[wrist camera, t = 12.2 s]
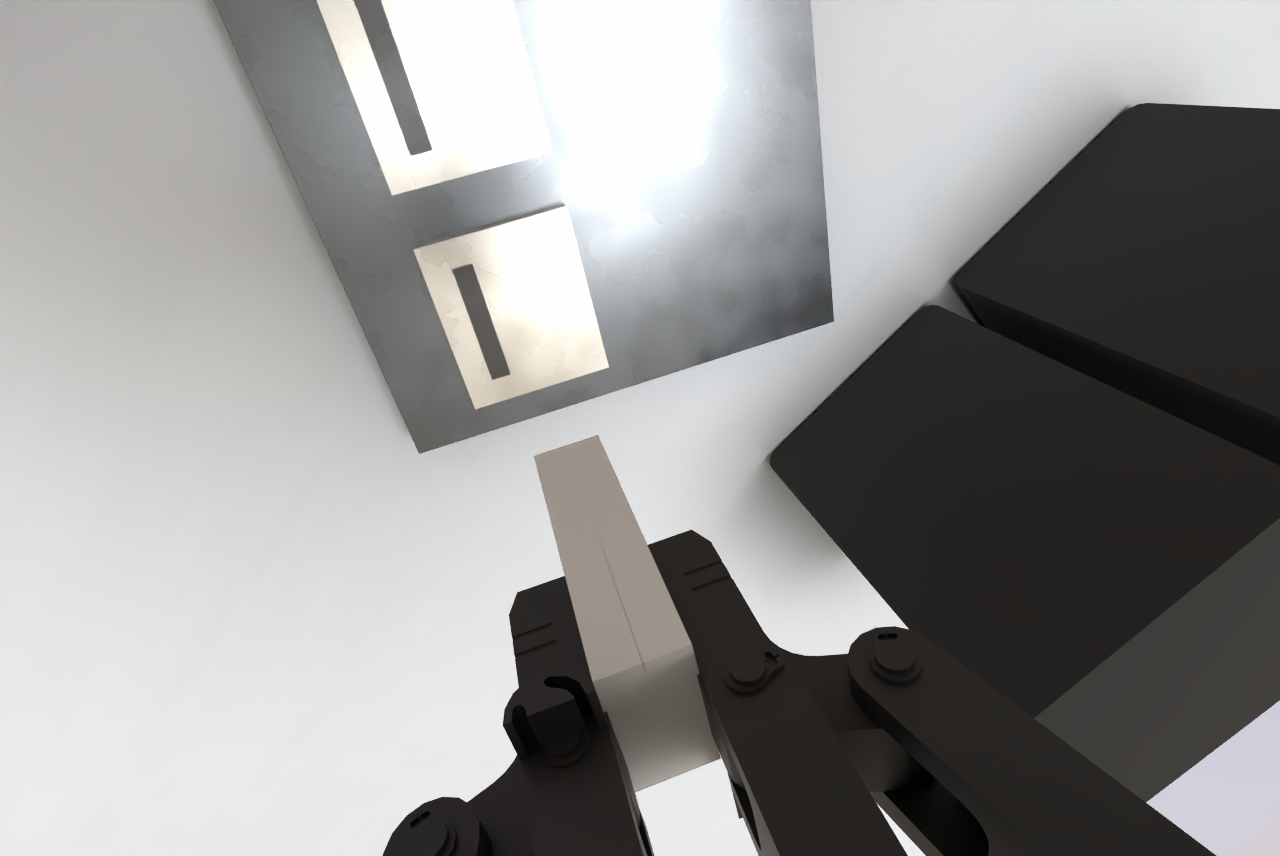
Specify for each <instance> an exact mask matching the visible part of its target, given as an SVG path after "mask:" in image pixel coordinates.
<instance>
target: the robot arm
mask: <svg viewBox="0 0 1280 856" xmlns="http://www.w3.org/2000/svg"><path fill="white" fill-rule="evenodd" d="M534 458H535V462H536V466H537V469H538V473H539V477H540V481H541V485H542V489H543V493H544V496H545V500H546V504H547V508H548V512H549V516H550V520H551V524H552V527H553V531H554V535H555V539H556V543H557V547H558V551H559V554H560V558H561V562H562V566H563V570H564V574H565V576H563V577H560V578H558V579H555V580H552V581H549V582H546V583H543V584H540V585H538V586H535V587H532V588H529V589H526V590H523V591H520V592H518V593H517V595H516V597H515V600H514V603H513V606H512V609H511V611H510V614H509V618H510V625H511V633H512V638H513V647H514V654H515V658H516V659H515V662H516V669H517V676H518V684H519V688H518V689H517V690H516V691H515V692H514V693H513V695H512V697H511V699H510V700H509V702H508V704H507V706H506V708H505V711H504V720H503V727H504V729H505V731H506V733H507V735H508V737H509V739H510V741H511V743H512V745H513V747H514V749H515V751H516V753H517V756H516V758H515V760H514V762H513V763H512V764H511V766H510V767H509V768H508V769H507V771H506V772H505V773H504V774H503V775H502V776H501V777H500V778H498V779H497V780H496V781H495V782H494V783H493V784H491V785H490V786H489V787H487V788H486V789H485V790H483V791H482V792H481V793H479V794H478V795H477V796H475V797H474V798H473V799H471V800H470V801H469V802H467V803H466V802H465V801H463V800H461V799H460V798H453V797H441V798H438V799H435V800H432V801H429V802H426V803H424V804H422V805H421V806H420V807H418V808H417V809H415V810H414V811H413V812H411V813H410V814H408V815H407V816H406V817H405V818H404V820H403V821H402V822H401V823H400V825H399V826H398V827H397V828H396V829H395V831H394V832H393V833H392V835H391V838H390V840H389V842H388V844H387V846H386V849H385V851H384V853H383V856H654V853H653V850H652V846H651V843H650V839H649V836H648V832H647V829H646V825H645V823H644V820H643V817H642V815H641V812H640V809H639V806H638V803H637V799H636V795H635V792H637V791H640V790H642V789H645V788H647V787H650V786H652V785H655V784H657V783H660V782H662V781H665V780H667V779H670V778H672V777H675V776H678V775H680V774H683V773H685V772H688V771H690V770H693V769H695V768H698V767H700V766H703V765H705V764H708V763H710V762H713V761H715V760H718V759H720V758H721V757H722V760H723V762H724V764H725V767H726V769H727V771H728V775H729V779H730V783H731V788H732V792H733V796H734V800H735V804H736V808H737V812H738V816H739V819H740V818H742V817H743V818H744V821H745V823H746V826H747V828H748V831H749V833H750V835H751V838H752V840H753V843H754V845H755V848H756V850H757V852H758V855H759V856H908V855H907V854H906V852H905V850H904V849H903V847H902V845H901V844H900V842H899V840H898V839H897V837H896V835H895V834H894V832H893V830H892V829H891V827H890V825H889V824H888V822H887V820H886V819H885V817H884V815H883V814H882V812H881V810H880V809H879V807H878V805H879V806H880V807H881V808H882V809H883V810H884V811H885V812H886V813H887V814H888V815H889V817H890V818H891V819H892V820H893V821H894V822H895V823H896V824H897V825H898V826H899V827H900V828H901V829H902V830H903V832H904V833H905V834H906V835H907V836H908V837H909V838H910V839H911V840H912V841H913V842H914V843H915V844H916V845H917V846H918V848H919V849H920V850H921V851H922V852H923V853H924V854H925V855H926V856H1216V855H1215V854H1213V853H1212V852H1211V851H1209V850H1208V849H1207V848H1205V847H1204V846H1203V845H1201V844H1200V843H1199V842H1197V841H1196V840H1195V839H1193V838H1192V837H1191V836H1189V835H1188V834H1187V833H1185V832H1184V831H1183V830H1181V829H1180V828H1179V827H1177V826H1176V825H1175V824H1173V823H1172V822H1171V821H1169V820H1168V819H1167V818H1165V817H1164V816H1163V815H1162V814H1160V813H1159V812H1158V811H1156V810H1155V809H1154V808H1152V807H1151V806H1149V805H1148V804H1147V803H1146V802H1144V801H1143V800H1142V799H1140V798H1139V797H1138V796H1136V795H1135V794H1134V793H1132V792H1131V791H1130V790H1128V789H1127V788H1126V787H1124V786H1123V785H1122V784H1120V783H1119V782H1118V781H1116V780H1115V779H1114V778H1112V777H1111V776H1110V775H1108V774H1107V773H1106V772H1104V771H1103V770H1102V769H1100V768H1099V767H1098V766H1096V765H1095V764H1094V763H1092V762H1091V761H1090V760H1088V759H1087V758H1086V757H1084V756H1083V755H1082V754H1080V753H1079V752H1078V751H1077V750H1075V749H1074V748H1073V747H1071V746H1070V745H1069V744H1067V743H1066V742H1065V741H1063V740H1062V739H1061V738H1059V737H1058V736H1057V735H1055V734H1054V733H1053V732H1051V731H1050V730H1049V729H1047V728H1046V727H1045V726H1043V725H1042V724H1041V723H1039V722H1038V721H1037V720H1035V719H1034V718H1033V717H1031V716H1030V715H1029V714H1027V713H1026V712H1025V711H1023V710H1022V709H1021V708H1019V707H1018V706H1017V705H1015V704H1014V703H1013V702H1011V701H1010V700H1009V699H1007V698H1006V697H1005V696H1003V695H1002V694H1001V693H999V692H998V691H997V690H995V689H994V688H993V687H991V686H990V685H989V684H988V683H986V682H985V681H984V680H982V679H981V678H980V677H978V676H977V675H976V674H974V673H973V672H972V671H970V670H969V669H968V668H966V667H965V666H964V665H962V664H961V663H960V662H958V661H957V660H956V659H954V658H953V657H952V656H950V655H949V654H948V653H946V652H945V651H944V650H942V649H941V648H940V647H938V646H937V645H936V644H934V643H933V642H932V641H930V640H929V639H928V638H926V637H924V636H922V635H920V634H918V633H916V632H914V631H913V630H909V629H904V628H899V627H894V626H893V627H881V628H875V629H872V630H870V631H868V632H865V633H863V634H861V635H860V636H859V637H858V638H857V639H856V640H855V641H854V642H853V643H852V644H851V646H850V650H849V653H848V654H840V655H827V656H804V655H799V654H794V653H791V652H789V651H786V650H784V649H782V648H780V647H778V646H777V645H776V644H774V643H773V642H772V641H770V639H769V638H768V637H767V636H766V634H765V633H764V632H763V630H762V628H761V627H760V625H759V623H758V622H757V620H756V618H755V616H754V615H753V613H752V611H751V610H750V608H749V606H748V604H747V603H746V601H745V599H744V598H743V596H742V594H741V593H740V591H739V589H738V587H737V586H736V584H735V582H734V581H733V579H731V576H730V574H729V572H728V570H727V569H726V567H725V565H724V564H723V563H722V560H721V558H720V557H719V555H718V553H717V552H716V550H715V548H714V547H713V545H712V543H711V542H710V541H709V540H707V539H705V538H704V537H702V536H701V535H699V534H698V533H696V532H694V531H693V530H689V531H686V532H684V533H681V534H678V535H675V536H672V537H669V538H666V539H664V540H661V541H658V542H655V543H652V544H649V545H647V543H646V541H645V539H644V537H643V534H642V532H641V530H640V528H639V525H638V523H637V521H636V519H635V517H634V514H633V512H632V510H631V508H630V505H629V503H628V501H627V499H626V497H625V494H624V492H623V490H622V488H621V485H620V483H619V481H618V479H617V477H616V474H615V472H614V470H613V468H612V465H611V463H610V461H609V459H608V456H607V454H606V452H605V450H604V448H603V445H602V443H601V441H600V439H599V436H598V435H597V436H594V437H591V438H588V439H585V440H582V441H579V442H575V443H572V444H569V445H566V446H563V447H560V448H557V449H554V450H551V451H548V452H545V453H542V454H539V455H536V456H534ZM719 752H720V753H719ZM720 755H721V757H720ZM876 803H877V804H878V805H877V804H876Z"/></svg>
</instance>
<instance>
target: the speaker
mask: <svg viewBox="0 0 1280 856" xmlns="http://www.w3.org/2000/svg"><path fill="white" fill-rule="evenodd" d="M955 283H956V284H957V286H958V287H959V289H960V290H961V291H962V293H963V294H964V296H965V297H966V299H967V300H968V302H969V303H970V305H971V306H972V307H973V309H974V310H975V312H976V313H977V315H978V316H979V318H980V319H981V320H982V322H983V323H984V325H985V326H986V328H985V327H982V326H980V325H978V324H976V323H974V322H972V321H970V320H967V319H965V318H963V317H961V316H959V315H957V314H955V313H953V312H950V311H948V310H946V309H944V308H942V307H940V306H936V305H930V306H927V307H924V308H923V309H922V310H920V311H919V312H918V313H916V314H915V315H914V316H913V317H912V318H911V319H910V320H909V321H908V322H907V323H906V324H905V325H904V326H903V327H902V328H901V329H900V330H899V331H898V332H897V333H896V334H895V335H894V336H893V337H892V338H891V339H890V340H889V341H888V342H887V343H886V344H885V345H884V346H883V347H882V348H881V349H879V350H878V351H877V352H876V353H875V354H874V355H873V356H872V357H871V358H870V359H869V360H868V361H867V362H866V363H865V364H864V365H863V366H862V367H861V368H860V369H859V370H858V371H857V372H856V373H855V374H854V375H853V376H852V377H851V378H850V379H849V380H848V381H847V382H846V383H845V384H843V385H842V386H841V387H840V388H839V389H838V390H837V391H836V392H835V393H834V394H833V395H832V396H831V397H830V398H829V399H828V400H827V401H826V402H825V403H824V404H823V405H822V406H821V407H820V408H819V409H818V410H817V411H816V412H815V413H814V414H813V415H812V416H811V417H810V418H809V419H808V420H806V421H805V422H804V423H803V424H802V425H801V426H800V427H799V428H798V429H797V430H796V431H795V432H794V433H793V434H792V435H791V436H790V437H789V438H788V439H787V440H786V441H785V442H784V443H783V444H782V445H781V446H780V447H779V448H778V449H777V450H776V451H775V452H774V453H773V455H772V456H771V459H770V465H771V468H772V469H773V470H774V471H775V472H776V473H777V475H778V476H779V477H780V478H781V479H782V480H783V482H784V483H785V484H786V485H787V486H788V488H789V489H790V490H791V491H792V492H793V493H794V495H795V496H796V497H797V498H798V499H799V500H800V502H801V503H802V504H803V505H804V506H805V507H806V509H807V510H808V511H809V512H810V513H811V515H812V516H813V517H814V518H815V519H816V520H817V522H818V523H819V524H820V525H821V526H822V527H823V529H824V530H825V531H826V532H827V533H828V535H829V536H830V537H831V538H832V539H833V540H834V542H835V543H836V544H837V545H838V546H839V547H840V549H841V550H842V551H843V552H844V553H845V554H846V556H847V557H848V558H849V559H850V560H851V562H852V563H853V564H854V565H855V566H856V567H857V569H858V570H859V571H860V572H861V573H862V574H863V576H864V577H865V578H866V579H867V580H868V581H869V583H870V584H871V585H872V586H873V587H874V589H875V590H876V591H877V592H878V593H879V594H880V596H881V597H882V598H883V599H884V600H885V601H886V603H887V604H888V605H889V606H890V607H891V608H892V610H893V611H894V612H895V613H896V614H897V616H898V617H899V618H900V619H901V620H902V621H903V623H904V624H905V625H906V626H907V627H908V628H909V630H913V631H914V632H916V633H918V634H920V635H922V636H924V637H926V638H928V639H929V640H930V641H932V642H933V643H934V644H936V645H937V646H938V647H940V648H941V649H942V650H944V651H945V652H946V653H948V654H949V655H950V656H952V657H953V658H954V659H956V660H957V661H958V662H960V663H961V664H962V665H964V666H965V667H966V668H968V669H969V670H970V671H972V672H973V673H974V674H976V675H977V676H978V677H980V678H981V679H982V680H984V681H985V682H986V683H988V684H989V685H990V686H991V687H993V688H994V689H995V690H997V691H998V692H999V693H1001V694H1002V695H1003V696H1005V697H1006V698H1007V699H1009V700H1010V701H1011V702H1013V703H1014V704H1015V705H1017V706H1018V707H1019V708H1021V709H1022V710H1023V711H1025V712H1026V713H1027V714H1029V715H1030V716H1031V717H1033V718H1034V719H1035V720H1037V721H1038V722H1039V723H1041V724H1042V725H1043V726H1045V727H1046V728H1047V729H1049V730H1050V731H1051V732H1053V733H1054V734H1055V735H1057V736H1058V737H1059V738H1061V739H1062V740H1063V741H1065V742H1066V743H1067V744H1069V745H1070V746H1071V747H1073V748H1074V749H1075V750H1077V751H1078V752H1079V753H1080V754H1082V755H1083V756H1084V757H1086V758H1087V759H1088V760H1090V761H1091V762H1092V763H1094V764H1095V765H1096V766H1098V767H1099V768H1100V769H1102V770H1103V771H1104V772H1106V773H1107V774H1108V775H1110V776H1111V777H1112V778H1114V779H1115V780H1116V781H1118V782H1119V783H1120V784H1122V785H1123V786H1124V787H1126V788H1127V789H1128V790H1130V791H1131V792H1132V793H1134V794H1135V795H1136V796H1138V797H1139V798H1140V799H1142V800H1143V801H1144V802H1147V801H1148V800H1150V799H1151V798H1152V797H1154V796H1155V795H1156V794H1158V793H1159V792H1160V791H1161V790H1163V789H1164V788H1165V787H1167V786H1168V785H1169V784H1171V783H1172V782H1173V781H1174V780H1176V779H1177V778H1179V777H1180V776H1181V775H1183V774H1184V773H1185V772H1186V771H1188V770H1189V769H1190V768H1192V767H1193V766H1194V765H1196V764H1197V763H1198V762H1199V761H1201V760H1202V759H1203V758H1205V757H1206V756H1207V755H1208V754H1210V753H1211V752H1213V751H1214V750H1215V749H1216V748H1218V747H1219V746H1220V745H1222V744H1223V743H1224V742H1226V741H1227V740H1228V739H1230V738H1231V737H1232V736H1234V735H1235V734H1236V733H1237V732H1239V731H1240V730H1241V729H1243V728H1244V727H1245V726H1247V725H1248V724H1249V723H1251V722H1252V721H1253V720H1254V719H1255V718H1257V717H1258V716H1260V715H1261V714H1262V713H1264V712H1265V711H1266V710H1267V709H1269V708H1270V707H1271V706H1273V705H1274V704H1275V703H1276V702H1278V701H1279V700H1280V109H1261V108H1240V107H1219V106H1198V105H1177V104H1155V103H1144V104H1138V105H1136V106H1134V107H1131V108H1129V109H1128V110H1126V111H1125V112H1124V113H1122V114H1121V115H1120V116H1119V117H1118V118H1117V119H1116V120H1115V121H1114V122H1113V123H1112V124H1111V125H1110V126H1109V127H1108V128H1107V129H1106V130H1105V131H1104V132H1103V133H1102V134H1101V135H1100V136H1098V137H1097V138H1096V139H1095V140H1094V141H1093V142H1092V143H1091V144H1090V145H1089V146H1088V147H1087V148H1086V149H1085V150H1084V151H1083V152H1082V153H1081V154H1080V155H1079V156H1078V157H1077V158H1076V159H1075V160H1074V161H1073V162H1072V163H1071V164H1070V165H1069V166H1068V167H1067V168H1066V169H1065V170H1064V171H1063V172H1061V173H1060V174H1059V175H1058V176H1057V177H1056V178H1055V179H1054V180H1053V181H1052V182H1051V183H1050V184H1049V185H1048V186H1047V187H1046V188H1045V189H1044V190H1043V191H1042V192H1041V193H1040V194H1039V195H1038V196H1037V197H1036V198H1035V199H1034V200H1033V201H1032V202H1031V203H1030V204H1029V205H1028V206H1027V207H1025V208H1024V209H1023V210H1022V211H1021V212H1020V213H1019V214H1018V215H1017V216H1016V217H1015V218H1014V219H1013V220H1012V221H1011V222H1010V223H1009V224H1008V225H1007V226H1006V227H1005V228H1004V229H1003V230H1002V231H1001V232H1000V233H999V234H998V235H997V236H996V237H995V238H994V239H993V240H992V241H991V242H990V243H988V244H987V245H986V246H985V247H984V248H983V249H982V250H981V251H980V252H979V253H978V254H977V255H976V256H975V257H974V258H973V259H972V260H971V261H970V262H969V263H968V264H967V265H966V266H965V267H964V268H963V269H962V270H961V271H960V272H959V273H958V275H957V276H956V280H955Z"/></svg>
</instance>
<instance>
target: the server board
mask: <svg viewBox="0 0 1280 856" xmlns="http://www.w3.org/2000/svg"><path fill="white" fill-rule="evenodd" d="M213 1H214V3H215V5H216V7H217V9H218V12H219V14H220V16H221V18H222V20H223V23H224V25H225V27H226V29H227V31H228V34H229V36H230V38H231V40H232V42H233V45H234V47H235V49H236V51H237V53H238V56H239V58H240V60H241V62H242V64H243V67H244V69H245V71H246V73H247V75H248V78H249V80H250V82H251V84H252V86H253V89H254V91H255V93H256V95H257V98H258V100H259V102H260V104H261V106H262V109H263V111H264V113H265V115H266V117H267V120H268V122H269V124H270V126H271V128H272V131H273V133H274V135H275V137H276V139H277V142H278V144H279V146H280V148H281V150H282V153H283V155H284V157H285V159H286V161H287V164H288V166H289V168H290V170H291V172H292V175H293V177H294V179H295V181H296V183H297V186H298V188H299V190H300V192H301V194H302V197H303V199H304V201H305V203H306V205H307V208H308V210H309V212H310V214H311V216H312V219H313V221H314V223H315V225H316V227H317V230H318V232H319V234H320V236H321V239H322V241H323V243H324V245H325V247H326V250H327V252H328V254H329V256H330V258H331V261H332V263H333V265H334V267H335V269H336V272H337V274H338V276H339V278H340V280H341V283H342V285H343V287H344V289H345V291H346V294H347V296H348V298H349V300H350V302H351V305H352V307H353V309H354V311H355V313H356V316H357V318H358V320H359V322H360V324H361V327H362V329H363V331H364V333H365V335H366V338H367V340H368V342H369V344H370V346H371V349H372V351H373V353H374V355H375V357H376V360H377V362H378V364H379V366H380V368H381V371H382V373H383V375H384V377H385V380H386V382H387V384H388V386H389V388H390V391H391V393H392V395H393V397H394V399H395V402H396V404H397V406H398V408H399V410H400V413H401V415H402V417H403V419H404V421H405V424H406V426H407V428H408V430H409V432H410V435H411V437H412V439H413V441H414V443H415V446H416V448H417V450H418V452H419V454H420V453H423V452H426V451H429V450H433V449H436V448H439V447H442V446H445V445H448V444H451V443H454V442H458V441H461V440H464V439H467V438H470V437H473V436H476V435H480V434H483V433H486V432H489V431H492V430H495V429H498V428H501V427H505V426H508V425H511V424H514V423H517V422H520V421H523V420H527V419H530V418H533V417H536V416H539V415H542V414H545V413H548V412H552V411H555V410H558V409H561V408H564V407H567V406H570V405H574V404H577V403H580V402H583V401H586V400H589V399H592V398H595V397H599V396H602V395H605V394H608V393H611V392H614V391H617V390H620V389H624V388H627V387H630V386H633V385H636V384H639V383H642V382H646V381H649V380H652V379H655V378H658V377H661V376H664V375H667V374H671V373H674V372H677V371H680V370H683V369H686V368H689V367H693V366H696V365H699V364H702V363H705V362H708V361H711V360H714V359H718V358H721V357H724V356H727V355H730V354H733V353H736V352H739V351H743V350H746V349H749V348H752V347H755V346H758V345H761V344H765V343H768V342H771V341H774V340H777V339H780V338H783V337H786V336H790V335H793V334H796V333H799V332H802V331H805V330H808V329H812V328H815V327H818V326H821V325H824V324H827V323H830V322H833V321H834V317H833V303H832V289H831V276H830V262H829V248H828V235H827V221H826V207H825V194H824V180H823V167H822V153H821V139H820V126H819V112H818V98H817V85H816V71H815V57H814V44H813V30H812V16H811V3H810V0H213Z"/></svg>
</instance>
